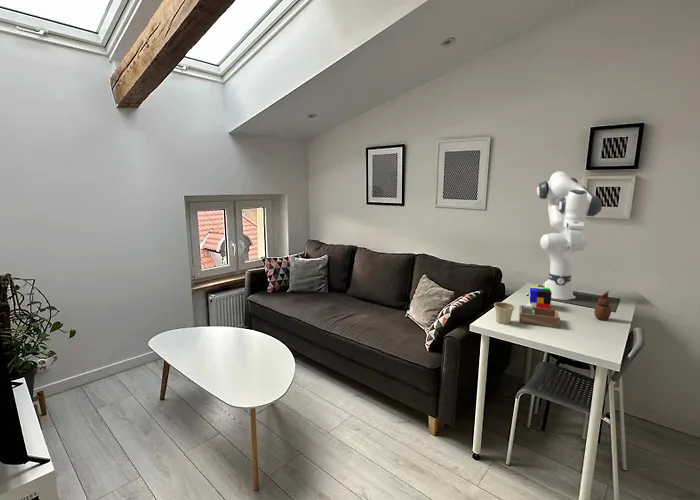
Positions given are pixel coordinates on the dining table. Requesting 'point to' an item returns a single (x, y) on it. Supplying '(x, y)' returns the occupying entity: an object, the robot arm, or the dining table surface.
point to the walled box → (540, 317)
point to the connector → (528, 309)
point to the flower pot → (503, 312)
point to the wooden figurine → (603, 308)
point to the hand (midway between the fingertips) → (570, 251)
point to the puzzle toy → (539, 297)
